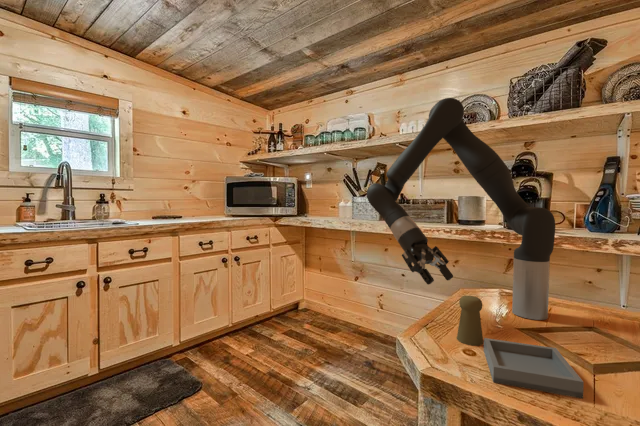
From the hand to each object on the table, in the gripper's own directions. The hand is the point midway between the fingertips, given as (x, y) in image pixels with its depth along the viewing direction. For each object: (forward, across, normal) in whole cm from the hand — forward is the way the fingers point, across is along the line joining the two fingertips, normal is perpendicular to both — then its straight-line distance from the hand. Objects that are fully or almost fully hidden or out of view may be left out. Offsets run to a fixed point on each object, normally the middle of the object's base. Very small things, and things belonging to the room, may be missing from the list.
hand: (441, 280), depth 86 cm
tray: (+26, -4, -7) cm, 27 cm away
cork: (+15, 0, +4) cm, 16 cm away
